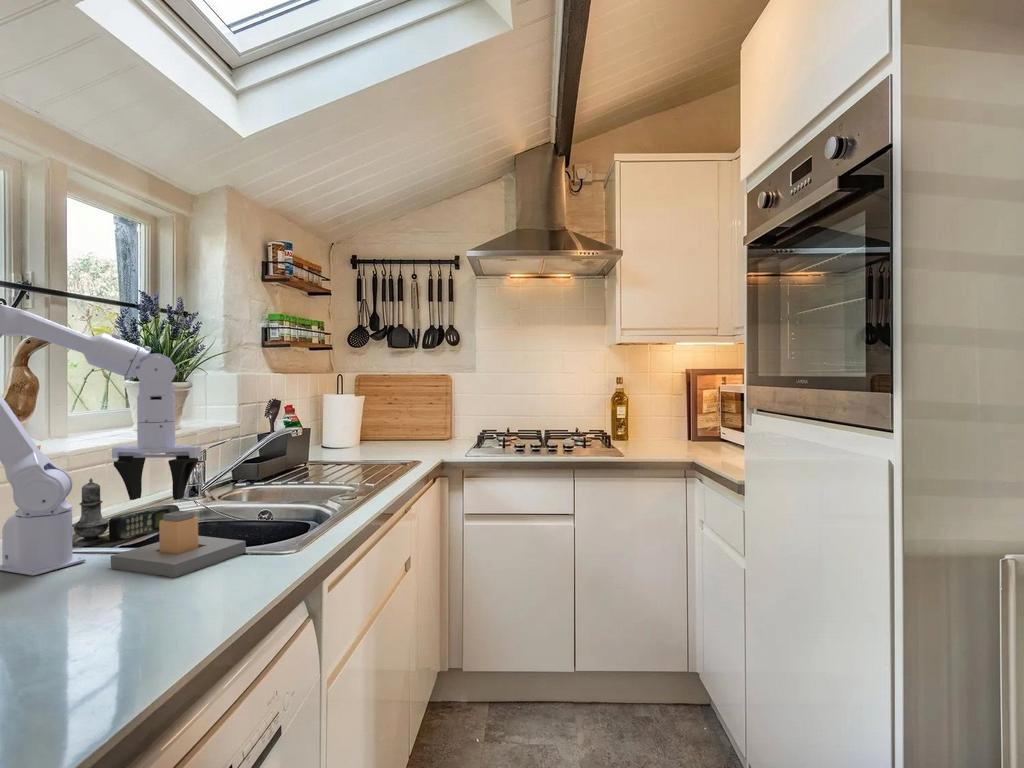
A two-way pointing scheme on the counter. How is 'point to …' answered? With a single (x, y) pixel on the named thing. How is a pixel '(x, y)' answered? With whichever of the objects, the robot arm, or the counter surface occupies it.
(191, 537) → the plug
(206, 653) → the counter surface
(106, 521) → the salt shaker
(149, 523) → the mobile phone
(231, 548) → the socket plate
